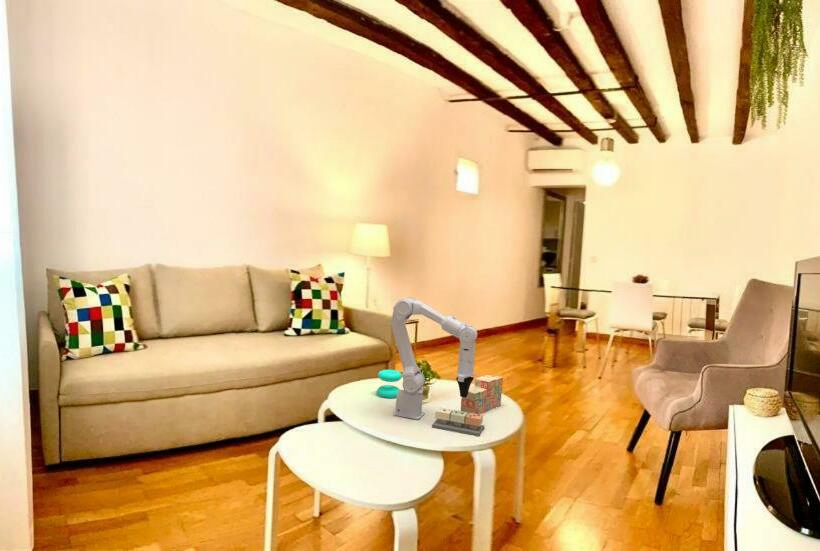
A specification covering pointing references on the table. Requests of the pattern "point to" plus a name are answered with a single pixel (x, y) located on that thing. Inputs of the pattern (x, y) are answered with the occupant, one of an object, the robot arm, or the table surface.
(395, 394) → the donuts
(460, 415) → the tile two
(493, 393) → the stack of blocks
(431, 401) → the table surface
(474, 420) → the tile three
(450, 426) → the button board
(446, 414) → the tile one
